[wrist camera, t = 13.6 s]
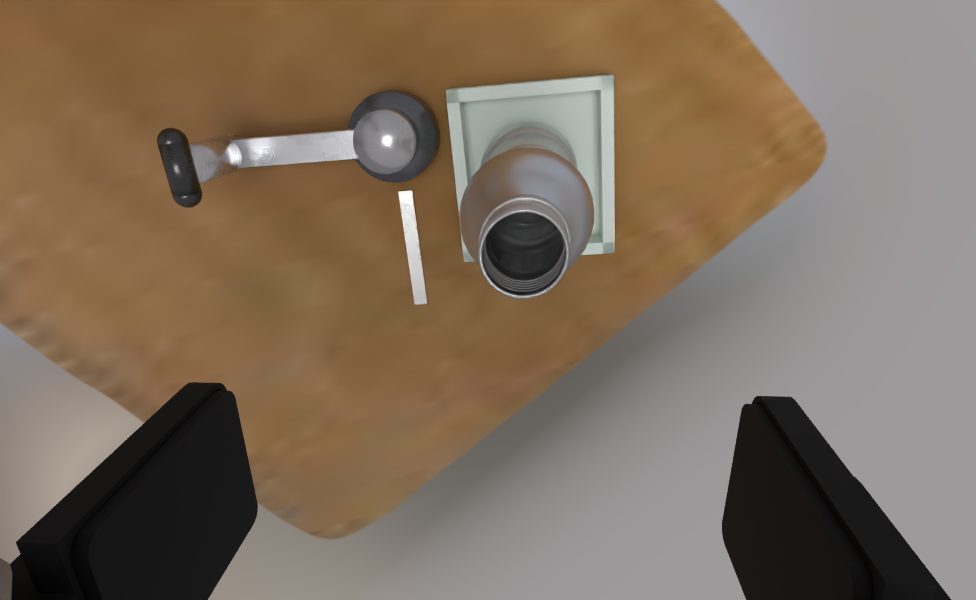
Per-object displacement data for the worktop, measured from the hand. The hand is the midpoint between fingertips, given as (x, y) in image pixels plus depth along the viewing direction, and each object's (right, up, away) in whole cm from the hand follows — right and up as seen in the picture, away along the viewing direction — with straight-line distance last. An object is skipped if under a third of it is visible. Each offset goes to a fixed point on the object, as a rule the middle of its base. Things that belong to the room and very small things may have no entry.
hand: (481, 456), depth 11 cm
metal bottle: (+3, +12, +30) cm, 33 cm away
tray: (+3, +12, +31) cm, 34 cm away
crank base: (-6, +10, +33) cm, 35 cm away
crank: (-12, +14, +29) cm, 34 cm away
